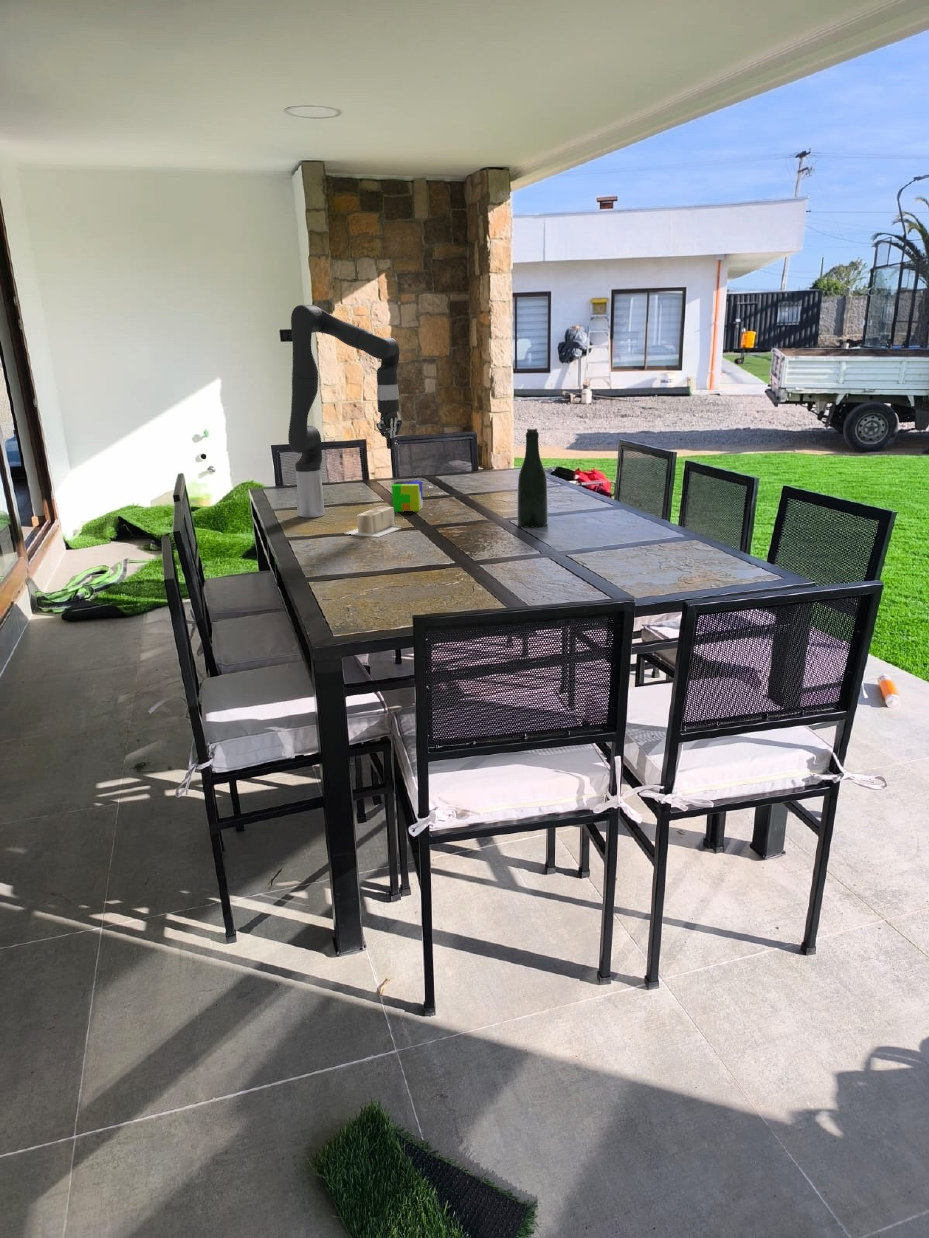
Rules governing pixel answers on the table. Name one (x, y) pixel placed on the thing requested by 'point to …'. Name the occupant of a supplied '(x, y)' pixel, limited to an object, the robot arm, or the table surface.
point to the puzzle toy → (407, 496)
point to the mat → (376, 534)
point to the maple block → (375, 519)
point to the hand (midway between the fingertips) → (390, 448)
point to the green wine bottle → (532, 486)
